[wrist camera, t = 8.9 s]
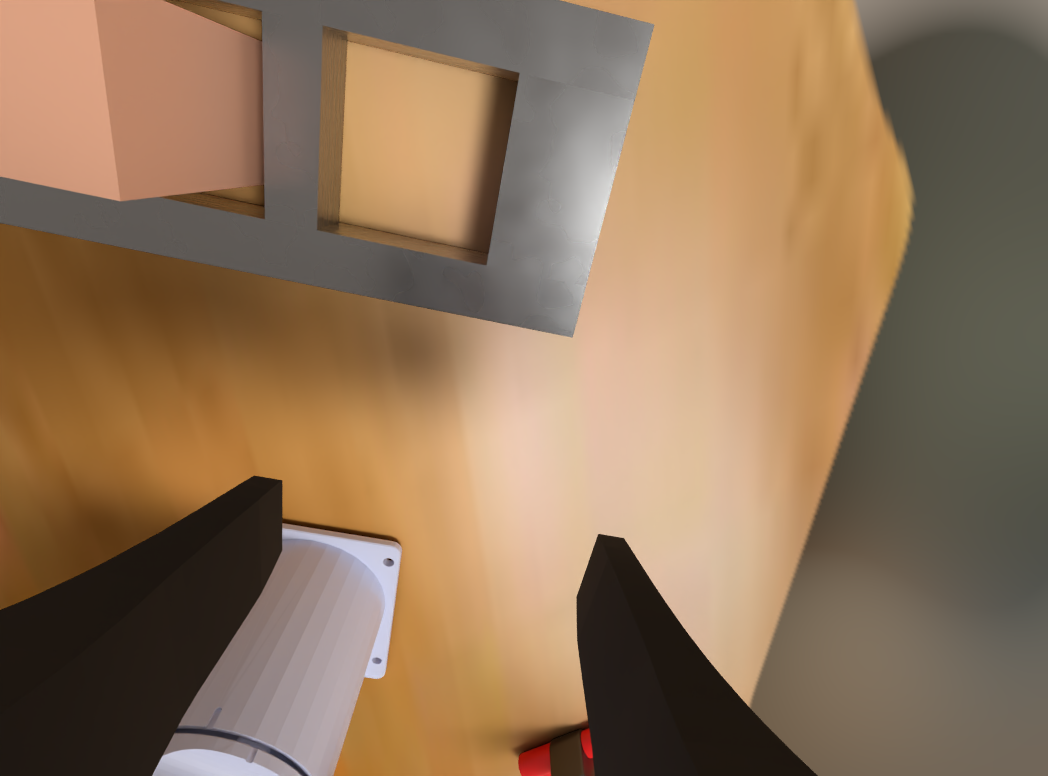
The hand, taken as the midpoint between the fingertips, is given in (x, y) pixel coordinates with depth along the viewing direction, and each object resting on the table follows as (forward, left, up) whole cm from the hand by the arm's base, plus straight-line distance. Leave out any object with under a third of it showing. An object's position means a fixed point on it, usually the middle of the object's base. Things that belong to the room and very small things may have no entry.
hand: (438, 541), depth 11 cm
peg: (+8, +10, -10) cm, 16 cm away
